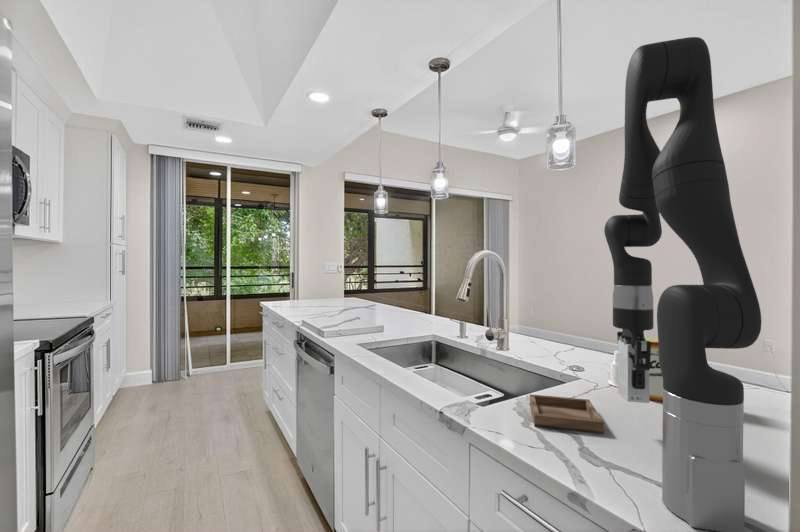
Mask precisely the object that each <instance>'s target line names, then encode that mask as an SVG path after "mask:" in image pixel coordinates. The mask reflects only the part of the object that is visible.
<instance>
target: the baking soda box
mask: <svg viewBox="0 0 800 532" xmlns="http://www.w3.org/2000/svg"><path fill="white" fill-rule="evenodd" d="M644 338H645V339H646V341H650V342H651V356H650V370H649V401H652V402H656V403H657V402H658V403H663V377H662V373H661V369H660V364H659V345H658V337H644Z"/></svg>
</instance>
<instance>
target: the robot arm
mask: <svg viewBox="0 0 800 532" xmlns="http://www.w3.org/2000/svg"><path fill="white" fill-rule="evenodd" d="M712 74H713V73H712V62H711V55H710V50H709V46H708V44H707V42H706V41H705V40H704V39H703V38H701V37H698V36H692V37H690V36H689V37H682V38H676V39H670V40H664V41H657V42H653V43H647V44H643V45H640V46H639V47H638V48H636V49H635V50H634V51H633V53H632V54H631V57H630V60H629V62H628V67H627V70H626V77H625V78H626V79H625V90H624V92H625V95H624V96H625V98H624V156H623V157H624V161H623V162H624V163H623V168H622V169H623V170H622V176H621V182H620V189H619V194H618V200H619V201H618V202H619V205H621V206H622V208H623V207H624V208H625V209H628V210H633V211H637V212H642V213H641V214H638V213H637V214H616V215H612V216H610V217H609V218H608V219H607V221H606V223H605V224H604V225H605V226H604V229H603V231H604V236H605V240H606V242H607V245H608V248H609V252H610V256H611V259H612V263H613V264H612V265H613V291H612V326H613V327H614V328H616V329H621V331H616V332H617V333H616V336H617V341H618V340H620V341H621V342H624V345H627V344H631V345H632V348H633V349H635V355H633V354H632V353H631V352H628V357H629V358H630V359H631V368H632V387H633V388H635V389H644V388H645V371H647V370H650V356H651V342H650V341H646V339H645V338H646V337H645V333H644V332H645V331H651V330H653V329H654V328H655V327H654V322H655V321H654V292H653V286H652V285H653V277H652V275H653V273H652V272H653V271H652V268H653V267H652V262H651V261H650V260H649V259H648V258H643V257H639V256H634V255H630V254H629V253H628V252H627V250H626V248H641V247H642V248H644V247H647V248H648V247H652V246H654V245H656V244H657V243H658V242H659V241H660V239H661V238H662V234H663V230H662V228H663V227H662V222H661V217H662V219H663V220H664V221H665V223H666V224H667V225H668V227H670V229H671V230H672V231H673V232H674V233H675V234H676V235H677V237H679V238H680V239H681V240H682V242H683V243H684V244H685V246H686V247H688V249H689V250H690V252H691V253H692V255H693V256H694V258H695V260H696V263H697V265H698V268H699V270H700V274H701V278H702V283H703V284H676V285H671V286H668V287H667V288H666V289H664V290H663V291H662V293H661V294H660V296H659V300H658V303H657V309H656V325H657V338H658V345H659V364H660V369H661V373H662V377H663V402H662V442H661V443H662V445H661V446H662V451H661V452H662V453H661V454H662V455H661V457H662V460H661V461H662V462H661V464H662V465H661V467H662V468H661V469H662V470H661V482H662V483H661V489H662V490H661V500H662V503H663V504H664V506H665V508H667V509H668V510H669V511H670V512H671V513H673V514H674V515H675V516H677V517H679V518H681V519H682V520H684V521H685V522H687V524H689V526H690V527H692V528H695V529H701V530H702V529H703V530H707V531H709V530H710V531H716V532H745V527H746V526H745V517H746V515H745V513H746V511H745V508H746V507H745V506H746V503H745V501H746V496H745V495H746V492H745V491H746V466H745V465H744V417H745V416H744V415H745V413H744V410H745V409H744V408H745V407H744V405H745V403H744V402H745V399H744V398H745V397H744V396H745V391H744V390H745V389H744V384H743V382H742V381H741V380H740V379H739V378H738V377H736V376H734V375H732V374H729V373H727V372H724V371H721V370H717V369H715V368H713V367H711V366H710V364H709V363H708V360H707V352H706V349H724V350H725V349H732V350H733V349H734V350H735V349H737V350H738V349H746V348H748V347H750V346H752V345H754V344H755V343H756V341H757V340H758V338H759V337H760V334H761V331H762V311H761V306H760V303H759V299H758V295H757V292H756V288H755V286H754V283H753V280H752V277H751V274H750V270H749V268H748V265H747V263H746V262H747V261H746V259H745V255H744V252H743V249H742V247H741V241H740V238H739V233H738V229H737V224H736V220H735V216H734V212H733V211H734V210H733V206H732V202H731V201H732V200H731V193H730V185H729V181H728V176H727V169H726V165H725V161H724V157H723V153H722V148H721V142H720V137H719V133H718V126H717V120H716V114H715V105H714V91H713V89H714V88H713V75H712ZM672 99H674V100H675V99H676V100H677V101H678V102H679V109H680V111H679V118H678V121H677V124H676V125H675V128H674V129H673V131H672V133H671V135H670V136H669V138H668V140H667V141H666V143H665V144H664V145H663V147H662V149H660V147H659V146H658V144H657V142H656V141H655V139H654V137H653V135H652V133H651V130H650V128H649V125H648V121H647V109H648V104H649V103H650V102H656V101H664V100H672ZM639 359H640V360H641V361H642V364H640V363H639Z"/></svg>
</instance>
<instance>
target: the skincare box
mask: <svg viewBox="0 0 800 532" xmlns="http://www.w3.org/2000/svg"><path fill="white" fill-rule="evenodd" d="M617 351H618V387H617V393H618V395H620V397H622V398H623V399H624V400H625V401H627V402H629V403H631V402H632V403H643V404H649V403H650V400H649V370H647V371H645V388H644V389H635V388H633V387H632V368H631V359H630V358H629V357H628V352H631V353H632V354H633V355H635V349H633V348H632V345H631V344H627V345H624V342H621V341H620V340H618V339H617ZM639 363H640V364H642V361H641V360H640V359H639Z"/></svg>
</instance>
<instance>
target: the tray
mask: <svg viewBox="0 0 800 532" xmlns="http://www.w3.org/2000/svg"><path fill="white" fill-rule="evenodd" d="M529 405H530V411H531V415H532V420H533V425H534V427H537V428H538V427H539V428H546V429H555V430H556V429H557V430H564V431H573V432H574V431H575V432H582V433H592V434H601V435H604V434H605V422H604V420H603V418H602V417H601V416H600V414H599V413H598V410H597V409H596V408H595V406H594V405H593V403H592V402H591V400H590V399H584V398H575V397H564V396H552V395H542V394H533V393H532V394H529Z"/></svg>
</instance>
